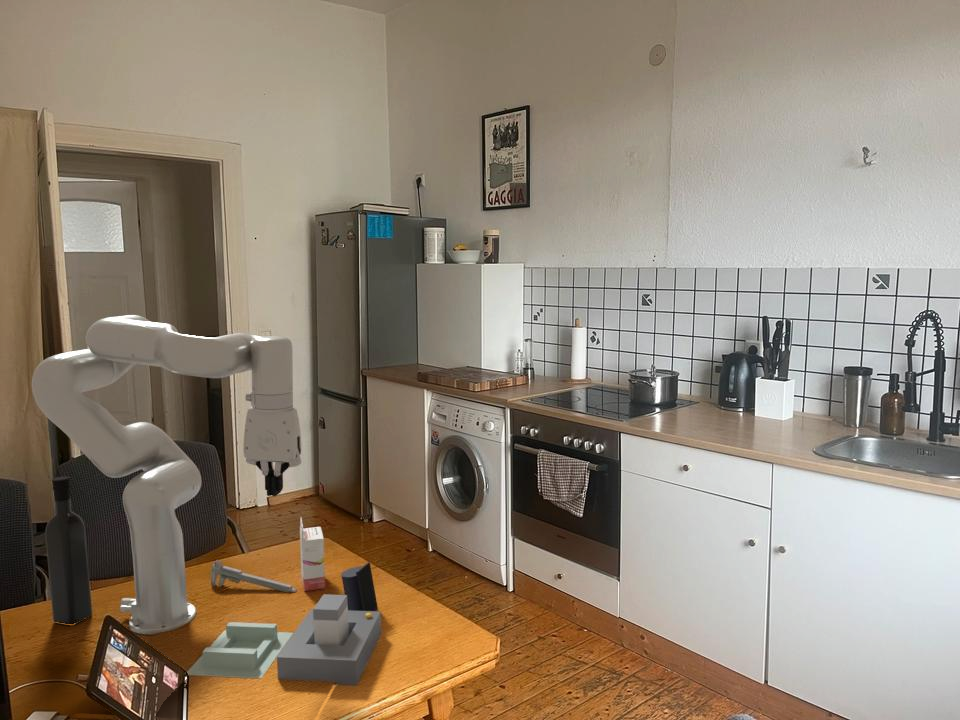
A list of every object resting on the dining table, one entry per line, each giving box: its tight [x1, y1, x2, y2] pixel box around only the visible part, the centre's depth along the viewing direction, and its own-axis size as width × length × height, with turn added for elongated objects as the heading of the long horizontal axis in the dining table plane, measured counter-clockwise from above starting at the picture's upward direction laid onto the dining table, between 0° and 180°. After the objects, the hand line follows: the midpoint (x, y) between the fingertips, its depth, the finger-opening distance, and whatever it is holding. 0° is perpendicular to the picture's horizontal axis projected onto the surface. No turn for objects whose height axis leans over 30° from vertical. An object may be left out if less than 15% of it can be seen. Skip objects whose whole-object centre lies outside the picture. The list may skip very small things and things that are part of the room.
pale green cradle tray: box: [187, 621, 294, 679], centre depth 137 cm, size 14×16×4 cm
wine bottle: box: [44, 475, 93, 624], centre depth 150 cm, size 6×6×30 cm
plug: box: [312, 593, 349, 646], centre depth 136 cm, size 4×6×10 cm
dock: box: [276, 608, 382, 687], centre depth 136 cm, size 14×18×5 cm
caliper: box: [210, 559, 298, 593], centre depth 166 cm, size 20×1×6 cm, turn 79°
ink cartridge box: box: [299, 517, 326, 592], centre depth 168 cm, size 9×5×15 cm, turn 17°
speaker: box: [340, 561, 379, 611], centre depth 154 cm, size 8×6×10 cm
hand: (274, 493), depth 144 cm, fingers closed
